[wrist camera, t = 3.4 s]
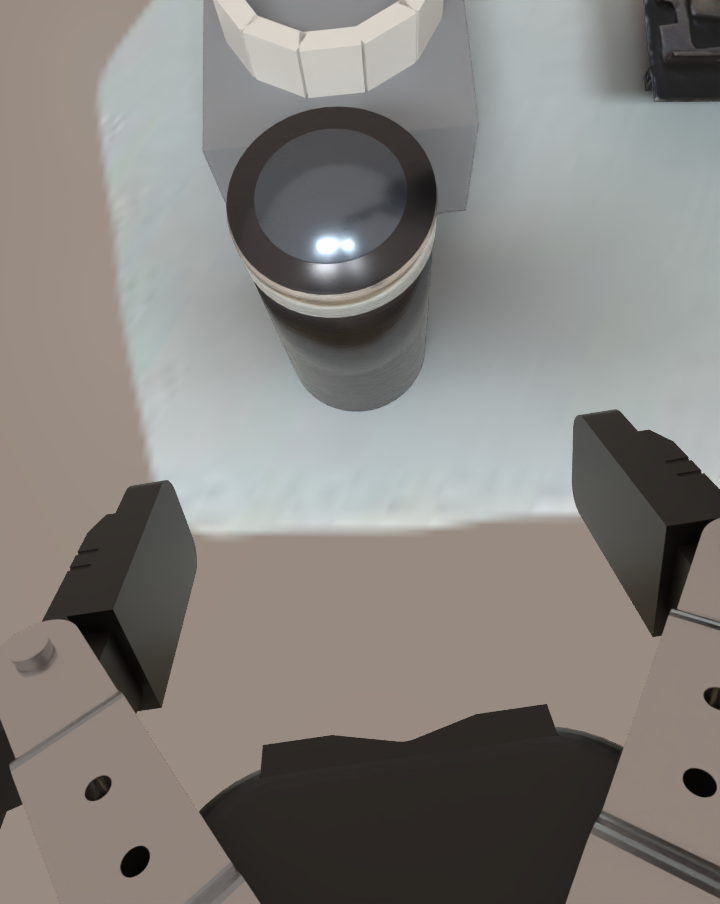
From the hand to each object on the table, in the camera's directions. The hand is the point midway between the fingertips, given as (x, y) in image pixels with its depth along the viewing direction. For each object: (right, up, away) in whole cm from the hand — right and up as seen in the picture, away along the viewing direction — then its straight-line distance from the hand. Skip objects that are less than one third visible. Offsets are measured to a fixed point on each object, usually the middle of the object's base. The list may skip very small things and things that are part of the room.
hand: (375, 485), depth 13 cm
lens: (0, +5, +13) cm, 14 cm away
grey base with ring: (-1, +17, +16) cm, 23 cm away
